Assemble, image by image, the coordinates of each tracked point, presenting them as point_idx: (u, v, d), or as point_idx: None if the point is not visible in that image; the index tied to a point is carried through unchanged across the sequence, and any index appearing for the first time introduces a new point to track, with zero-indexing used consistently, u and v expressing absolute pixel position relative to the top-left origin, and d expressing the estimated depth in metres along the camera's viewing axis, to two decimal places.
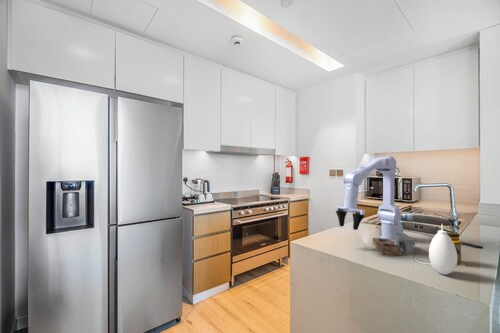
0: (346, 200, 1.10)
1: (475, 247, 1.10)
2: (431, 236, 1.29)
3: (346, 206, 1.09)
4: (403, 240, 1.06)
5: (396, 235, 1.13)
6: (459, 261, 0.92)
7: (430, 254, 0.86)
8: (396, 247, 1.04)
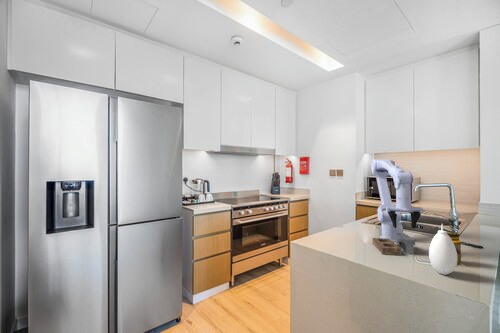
0: (405, 201, 1.07)
1: (475, 247, 1.10)
2: (431, 236, 1.29)
3: (406, 207, 1.06)
4: (403, 240, 1.06)
5: (396, 235, 1.13)
6: (459, 261, 0.92)
7: (430, 254, 0.86)
8: (396, 247, 1.04)
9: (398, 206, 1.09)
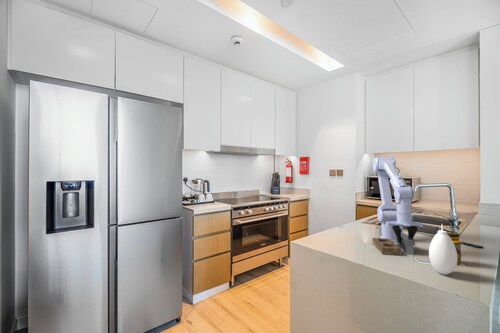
0: (406, 216, 1.07)
1: (476, 247, 1.10)
2: (432, 236, 1.29)
3: (407, 222, 1.06)
4: (403, 240, 1.06)
5: None
6: (459, 261, 0.92)
7: (430, 254, 0.86)
8: (396, 247, 1.04)
9: (399, 221, 1.09)
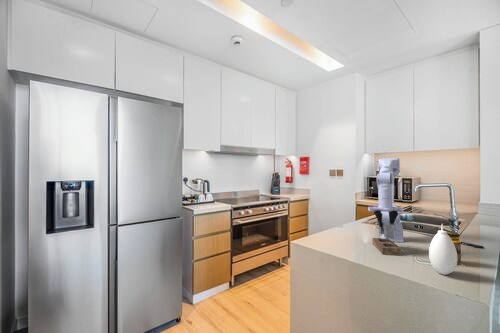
0: (387, 201, 1.08)
1: (476, 247, 1.10)
2: (433, 236, 1.29)
3: (388, 207, 1.08)
4: (384, 225, 1.07)
5: None
6: (459, 261, 0.92)
7: (430, 254, 0.86)
8: (396, 247, 1.04)
9: (380, 206, 1.10)
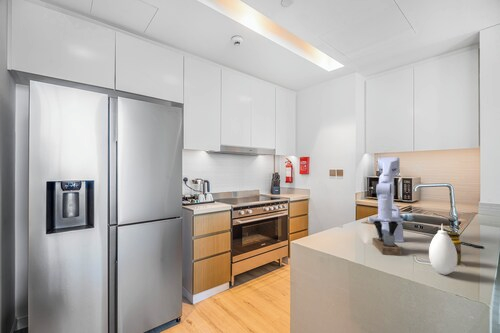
0: (386, 212, 1.08)
1: (476, 247, 1.10)
2: (433, 236, 1.29)
3: (387, 218, 1.08)
4: (383, 236, 1.07)
5: None
6: (459, 261, 0.92)
7: (430, 254, 0.86)
8: (396, 247, 1.04)
9: (380, 216, 1.10)
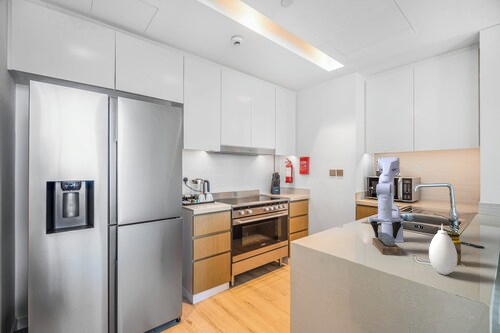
0: (386, 212, 1.08)
1: (476, 247, 1.10)
2: None
3: (387, 218, 1.08)
4: (384, 239, 1.07)
5: (378, 234, 1.15)
6: (459, 261, 0.92)
7: (430, 254, 0.86)
8: (396, 247, 1.04)
9: (380, 216, 1.10)
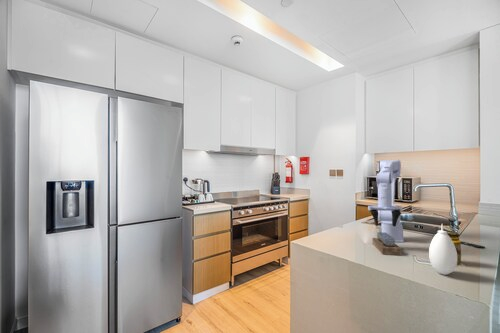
0: (386, 200, 1.11)
1: (477, 247, 1.10)
2: None
3: (387, 206, 1.11)
4: (384, 239, 1.07)
5: (378, 234, 1.15)
6: (459, 261, 0.92)
7: (430, 254, 0.86)
8: (396, 247, 1.04)
9: (380, 205, 1.13)
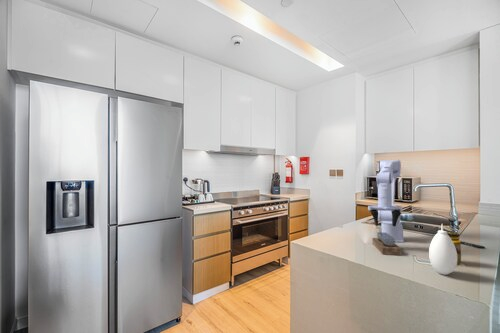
0: (386, 200, 1.11)
1: (477, 247, 1.10)
2: None
3: (387, 206, 1.11)
4: (384, 239, 1.07)
5: (378, 234, 1.15)
6: (459, 261, 0.92)
7: (430, 254, 0.86)
8: (396, 247, 1.04)
9: (380, 205, 1.13)
